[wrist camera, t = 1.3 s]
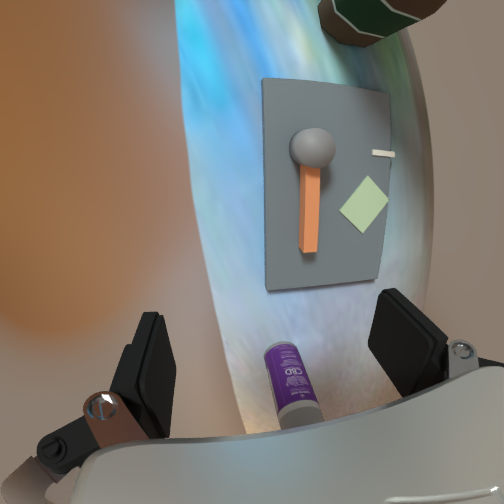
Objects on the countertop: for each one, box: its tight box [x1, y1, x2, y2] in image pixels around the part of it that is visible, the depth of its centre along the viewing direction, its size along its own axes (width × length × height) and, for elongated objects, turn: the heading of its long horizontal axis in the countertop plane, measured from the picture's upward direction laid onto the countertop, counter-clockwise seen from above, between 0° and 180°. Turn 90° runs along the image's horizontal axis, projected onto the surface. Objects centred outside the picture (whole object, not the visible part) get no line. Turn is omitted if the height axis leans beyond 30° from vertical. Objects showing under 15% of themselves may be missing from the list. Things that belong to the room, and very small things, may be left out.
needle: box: [289, 128, 336, 253], centre depth 25 cm, size 12×4×3 cm, turn 1°
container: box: [264, 342, 324, 430], centre depth 28 cm, size 5×5×15 cm
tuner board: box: [261, 78, 395, 290], centre depth 27 cm, size 22×14×1 cm, turn 1°
